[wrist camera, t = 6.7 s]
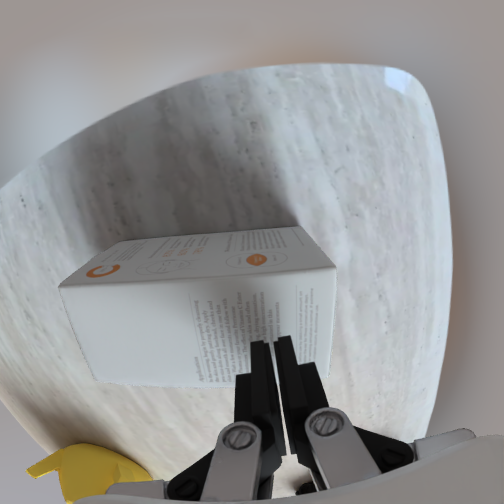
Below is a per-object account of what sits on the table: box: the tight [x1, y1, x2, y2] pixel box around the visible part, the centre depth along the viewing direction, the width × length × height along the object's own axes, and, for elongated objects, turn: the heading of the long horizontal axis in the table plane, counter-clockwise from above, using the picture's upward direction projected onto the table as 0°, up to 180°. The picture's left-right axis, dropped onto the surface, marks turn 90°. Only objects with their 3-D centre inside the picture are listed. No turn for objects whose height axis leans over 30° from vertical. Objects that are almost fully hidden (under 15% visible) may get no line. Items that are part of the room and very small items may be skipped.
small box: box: [58, 226, 337, 388], centre depth 16 cm, size 8×6×13 cm
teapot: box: [26, 443, 153, 504], centre depth 23 cm, size 17×17×12 cm
